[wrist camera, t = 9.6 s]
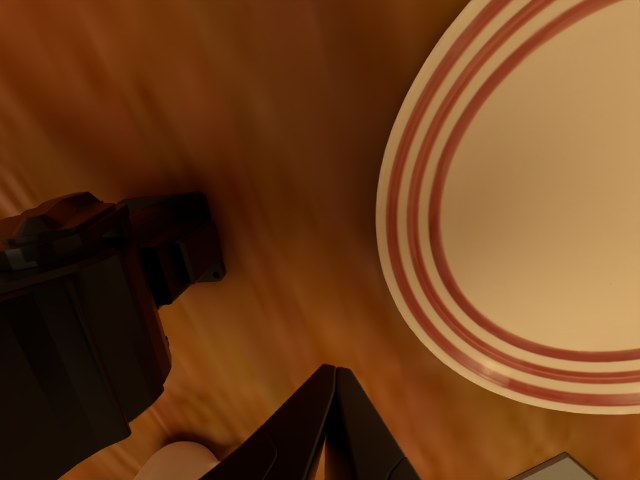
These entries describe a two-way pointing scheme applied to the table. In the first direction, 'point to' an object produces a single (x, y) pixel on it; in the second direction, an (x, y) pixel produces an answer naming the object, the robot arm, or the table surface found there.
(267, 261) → the table surface
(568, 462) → the mat
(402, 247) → the dinner plate
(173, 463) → the teacup
